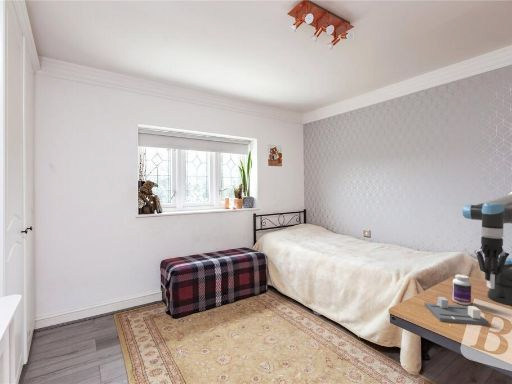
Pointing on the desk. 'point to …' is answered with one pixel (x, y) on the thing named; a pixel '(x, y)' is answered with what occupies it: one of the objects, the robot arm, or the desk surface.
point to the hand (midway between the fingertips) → (490, 287)
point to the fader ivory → (474, 312)
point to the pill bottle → (461, 290)
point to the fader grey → (442, 302)
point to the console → (454, 314)
